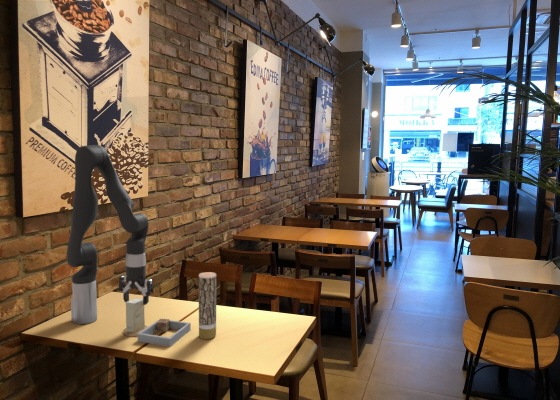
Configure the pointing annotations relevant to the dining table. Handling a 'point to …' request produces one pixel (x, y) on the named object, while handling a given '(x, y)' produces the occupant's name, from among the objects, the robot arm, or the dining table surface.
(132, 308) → the skincare box
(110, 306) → the dining table surface
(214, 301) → the paper tube
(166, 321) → the walnut block
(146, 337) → the parts bin
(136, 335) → the cork coaster
